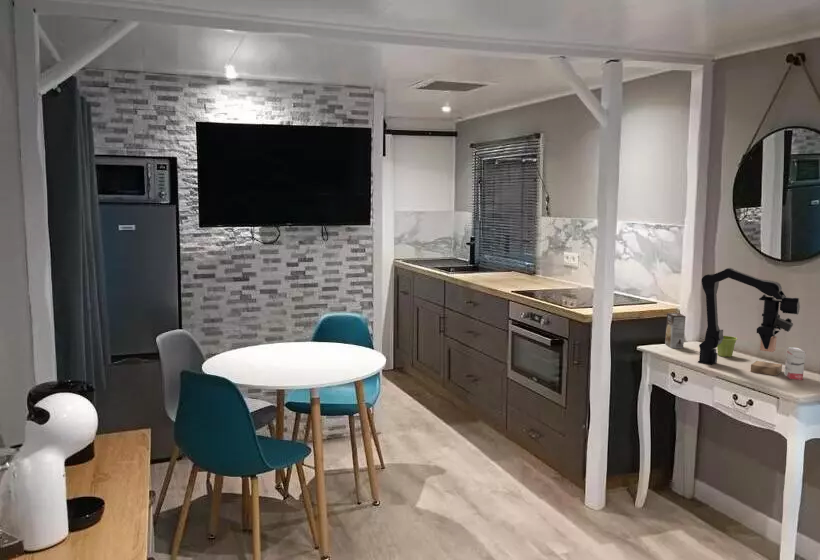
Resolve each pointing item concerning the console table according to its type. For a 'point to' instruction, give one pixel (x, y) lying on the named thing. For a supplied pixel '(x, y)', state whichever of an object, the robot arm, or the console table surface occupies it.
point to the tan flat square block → (766, 368)
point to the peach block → (771, 345)
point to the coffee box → (675, 330)
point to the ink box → (794, 363)
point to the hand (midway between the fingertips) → (767, 348)
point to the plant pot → (726, 346)
